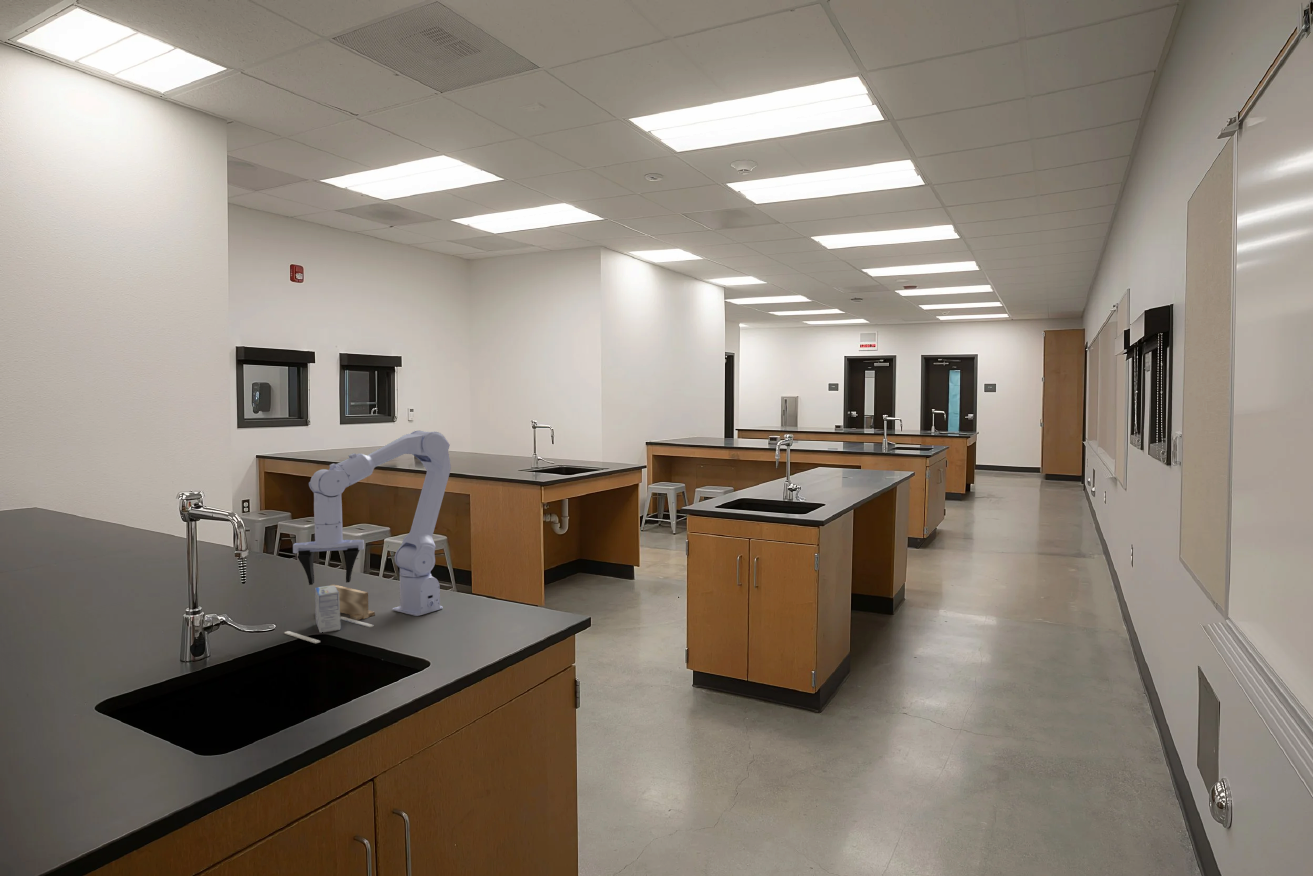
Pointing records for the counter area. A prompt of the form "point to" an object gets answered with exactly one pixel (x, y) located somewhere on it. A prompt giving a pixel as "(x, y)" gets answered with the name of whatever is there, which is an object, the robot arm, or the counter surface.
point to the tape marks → (318, 640)
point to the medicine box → (327, 608)
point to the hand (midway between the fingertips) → (330, 582)
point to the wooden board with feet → (354, 603)
